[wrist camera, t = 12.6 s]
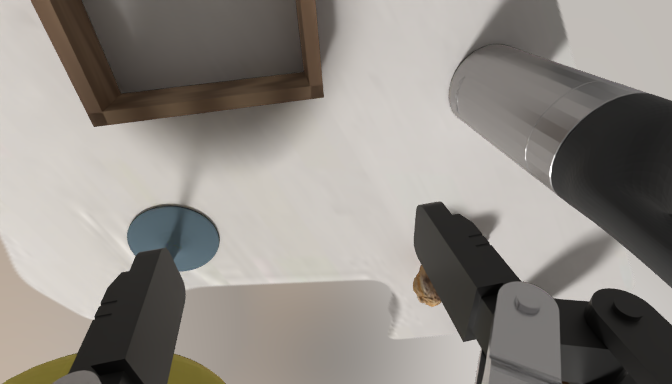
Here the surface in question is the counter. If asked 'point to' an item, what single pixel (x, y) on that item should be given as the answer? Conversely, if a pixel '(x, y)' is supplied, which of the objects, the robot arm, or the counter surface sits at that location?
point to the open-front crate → (114, 108)
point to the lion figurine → (425, 289)
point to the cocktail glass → (188, 253)
